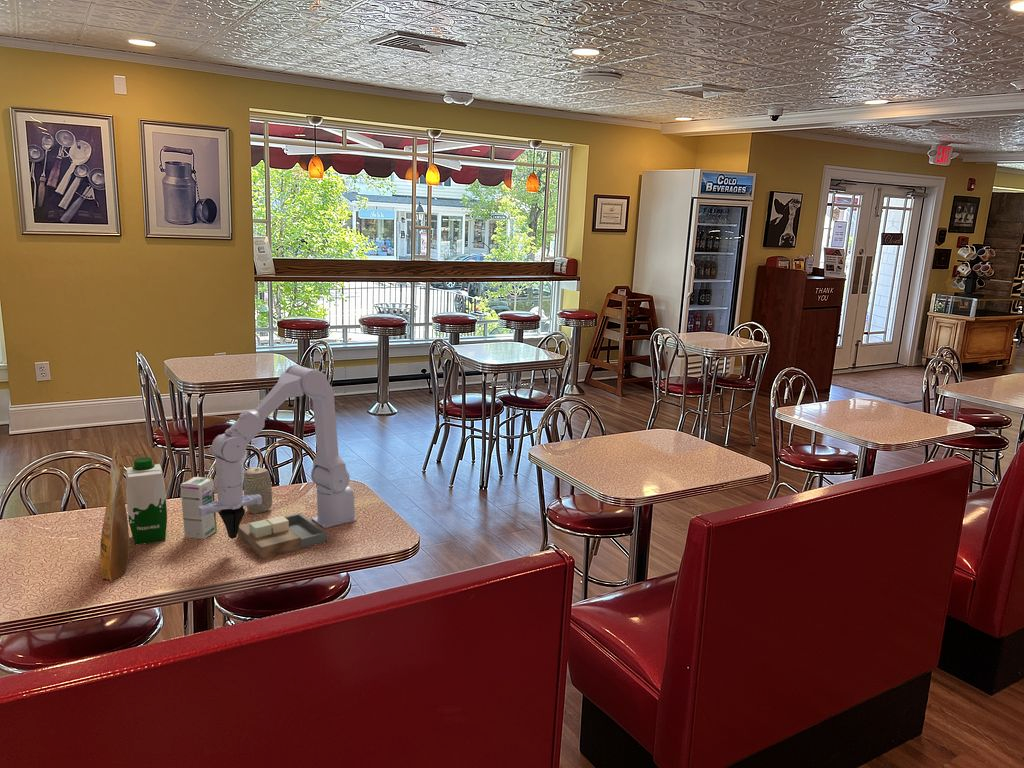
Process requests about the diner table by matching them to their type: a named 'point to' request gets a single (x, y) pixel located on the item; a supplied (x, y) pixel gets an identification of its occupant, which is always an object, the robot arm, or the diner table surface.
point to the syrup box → (197, 507)
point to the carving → (258, 488)
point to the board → (270, 542)
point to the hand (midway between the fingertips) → (232, 536)
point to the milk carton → (146, 501)
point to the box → (306, 530)
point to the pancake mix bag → (115, 525)
